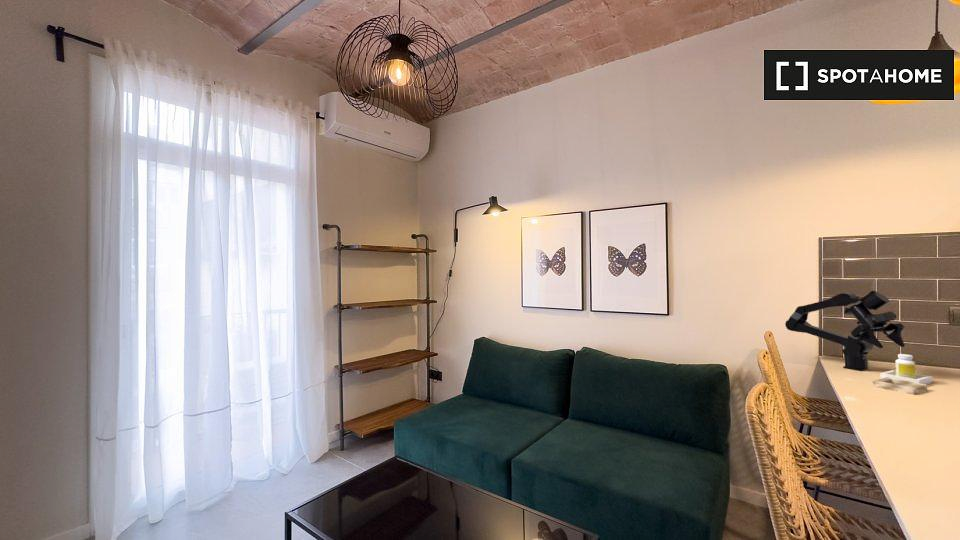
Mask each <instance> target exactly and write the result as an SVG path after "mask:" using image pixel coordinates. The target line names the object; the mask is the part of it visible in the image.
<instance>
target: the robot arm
mask: <svg viewBox="0 0 960 540" xmlns="http://www.w3.org/2000/svg"><path fill="white" fill-rule="evenodd" d="M890 302H891V301H890V299H889V298H888V297H887V296H886V295H883V294H882V293H880V292H878V291H876V290H871V291H870V292H869V293H867V294H866V295H865V296H859V295H856V294H855V293H852V292H844V293H839V294H836V295H834V296H832V297H830V298H828V299H824V300H821V301H816V302H813V303H809V304H805V305H799V306H797V307H796V308H795V311H794V312H793V313H792V314H790V316H789V318H788V319H787V320H786V321H785V327H786V329H787V330H788V331H791V332H795V333H796V332H797V333H806V334H809V335H811V336H815V337H817V338H821V339H823V340H827V341H830V342H833V343H834V344H835V343H836V344H839V345H841V346H842V347H844V348H843V349H842V354H843V355H844V365H843V366H842V368H844V369H850V370H853V371H854V370H855V371H859V372H860V371H866V370H869V361H868V358H867V355H868V354H869V352H870V351H872V350H873V349H874V346H875V347H877V348H879V349H883V348H884V346H883V344H882V342H881V341H880V340H879V339H878V338H877V337H876V335H875V333H883V334H884V335H885V336H886V338H888V339H889V340H890V341H892V342H893V343H895V344H897V345H898V346H900V347H901V348H904V347H905V343H904V340H903V337H902V331H904V329H905V328H906V327H905V326H904V324H903V323H902V322H900V323H899V322H894V321H896V319H897V315H896V314H895V312H893V311H887V312H883V313H878V314H877V313H876V314H875V313H872V310H873V311H877V310H878V309H881V308H882V307H885V305H887V304H889V303H890ZM847 306H850V307H847ZM836 307H837V308H838V307H845V309H844V310H843V311H844V312H843V313H844V315H852V316H853V317H854V318H855V319H856V320H857V321H856V324H857V325H856V326H855V327H854V328H853V329H852V330H850V332H851V333H850V334H849V335H847V336H846V335H844V334H840V333H837V332H833V331H830V330H827V329H825V328H821V327H819V326H815V325H812V324H811V323H809V322H808V317H809V314H810V313H814V312H817V311H822V310H826V309H830V308H836ZM892 321H893V322H892ZM888 322H889V324H888ZM885 325H886V326H885Z"/></svg>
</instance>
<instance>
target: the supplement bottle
mask: <svg viewBox="0 0 960 540" xmlns="http://www.w3.org/2000/svg"><path fill="white" fill-rule="evenodd" d="M897 358H898V359H895V362H894V363H895V364H894V365H895V369H894V370H895V375H896V376H902V377H907V378H913V379H915V374H916V362H915V361H913V358H914V357H913V355H912V354H906V353H899V354H897Z"/></svg>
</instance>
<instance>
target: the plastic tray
mask: <svg viewBox="0 0 960 540" xmlns="http://www.w3.org/2000/svg"><path fill="white" fill-rule="evenodd" d="M879 377H880V378H879V379H882V378H886V377H888V378H893V379H899V380H904V381H910V382H915V383H920V384H926V385H927V386H928V385H929V384H932V383H933V376H932V375H925V374H921V373H915V379H913V378H907V377H902V376H896V375H895V369H892V370H887V371H884V372H880V375H879Z"/></svg>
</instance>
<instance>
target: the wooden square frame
mask: <svg viewBox="0 0 960 540" xmlns="http://www.w3.org/2000/svg"><path fill="white" fill-rule="evenodd" d="M872 387H874V388H881V389H885V390H889V391H895V392H899V393H904V394H909V395H916V394H920V393H923V392H926V391H928V384H927V385H926V384H920V383H915V382H910V381H904V380H899V379H893V378H888V377H886V378H882V379H880V378H879V379H876V380H875V379H874V380H873V381H872Z"/></svg>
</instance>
